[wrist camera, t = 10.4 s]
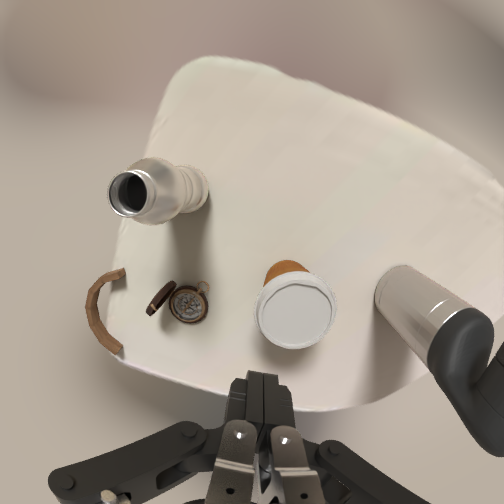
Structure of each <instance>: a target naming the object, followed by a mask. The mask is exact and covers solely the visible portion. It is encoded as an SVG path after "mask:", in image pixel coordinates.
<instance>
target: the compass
mask: <svg viewBox="0 0 504 504" xmlns="http://www.w3.org/2000/svg"><path fill="white" fill-rule="evenodd" d="M200 282H204V283H206V282H205V281H200ZM200 282H199V283H200ZM199 283H198V284H199ZM198 284H197V288H195V287H192V286H182V287H179V288H177V289H175V287H176V285H177V284H176V283H175V282H174V281H170V282H168V283H167V284H166V285H165V286H164V287H163V288H162V289H161V290H160V291H159V292H158V293H157V294H156V295H155V297H154V298H153V299H152V301H151V302H150V304H149V306H148V307H147V309H146V313H147V314H148V315H149V316H152V315H153V314H154V313H155V312H156V311H157V310H158V309H159V308H160V307H161V306H162V305H163V303H164V302H165V301H166V300H167V298H168V297H170V299H169V307H170V310H171V312H172V314H173V315H174V316H175V317H176V318H177V319H178V320H180V321H182V322H184V323H196V322H199V321H201V320H202V319H203V318H205V315H206V313H207V310H208V301H207V299H206V297H205V295H204V294H203V293H205V292H207V291H208V289H209V285H208V284H207V283H206V284H207V286H208V289H207V291H205V292H201V291H202V288H199V289H198ZM174 289H175V290H174Z"/></svg>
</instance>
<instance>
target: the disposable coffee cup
mask: <svg viewBox="0 0 504 504" xmlns="http://www.w3.org/2000/svg"><path fill="white" fill-rule="evenodd" d="M336 311H337V301H336V297H335V294H334V292H333V290H332V288H331V287H330V285H329V284H328V283H327V282H326V281H325V280H324V279H322V278H321V277H319V276H317V275H315V274H313V273H310V272H309V271H308V270H307V269H305V268H304V267H303V266H302V265H300V264H299V263H297V262H295V261H291V260H284V261H280V262H278V263H276V264H274V265H273V266H272V267H271V268H270V269H269V271H268V273H267V275H266V279H265V282H264V286H263V288H262V290H261V291H260V293H259V294H258V296H257V299H256V302H255V306H254V317H255V322H256V325H257V327H258V329H259V330H260V332H261V333H262V334H263V335H264V336H265V337H266V338H267V339H268V340H269V341H271V342H272V343H274V344H275V345H277V346H280V347H283V348H287V349H301V348H305V347H309V346H311V345H313V344H315V343H317V342H318V341H320V340H321V339H322V338H324V337H325V335H326V334H327V333H328V332H329V331H330V329H331V327H332V325H333V323H334V319H335V316H336Z"/></svg>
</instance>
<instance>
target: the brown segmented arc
mask: <svg viewBox="0 0 504 504" xmlns="http://www.w3.org/2000/svg"><path fill="white" fill-rule="evenodd" d="M125 274H126V273H125V270H124V268H122V269H119V270H115V271H111V272H108V273H106V274H104V275H103V276H101V277H100V278H99V279H98V280H97V281H96V282H95V283H94V285H93V286H92V287H91V288H90V289H89V291H88V296H87V300H86V306H85V309H86V313H87V318H88V322H89V326H90V328H91V329H92V331H93V332H94V334H95V336H96V337H97V339H98V341H99V342H100V343H101V344H102V345H103V346H104V347H106V348H107V349H108V350H109V351H110V352H112V353H113V354H114V355H116V354H117V353H118V351H119V350H120V349H121V347H122V346H123V345H122V344H121V343H119V342H118V341H117V340H116V339H115V338H113V337H112V336H111V335H110V334H109V333H108V331H107V330H106V328H105V327H104V325H103V324H102V322H101V320H100V317H99V312H98V307H97V300H98V296H99V291H100V288H101V287H102V286H103V285H104V284H105V283H106V282H109V281H113V280H117V279H120V278H121V277H122V276H124V275H125Z"/></svg>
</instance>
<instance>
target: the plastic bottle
mask: <svg viewBox="0 0 504 504" xmlns="http://www.w3.org/2000/svg"><path fill="white" fill-rule="evenodd" d="M208 192H209V186H208V182H207V180H206V178H205V176H204V175H203V173H202V172H201V171H200V170H198V169H197V168H195V167H193V166H190V165H179V166H174V165H173V164H171V163H170V162H168V161H166V160H163V159H161V158H155V157H150V158H144V159H141V160H139V161H137V162H135V163H134V164H132V165H131V166H130V167H129V168H128V169H127V170H126V171H123V172H120V173H119V174H117V175H116V176H114V177H113V179H112V180H111V182H110V184H109V186H108V191H107V198H108V202H109V204H110V206H111V208H112V209H113V211H114V212H115V213H117V214H118V215H120V216H122V217H127V218H132V219H134V220H135V221H137V222H140V223H142V224H146V225H159V224H163V223H165V222H167V221H169V220H171V219H172V218H173V217H175V216H176V215H177V214H178V213H190V212H194V211H196V210H198V209H199V208H200V207H201V206H202V205H203V204H204V203H205V201H206V199H207V196H208Z"/></svg>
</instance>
